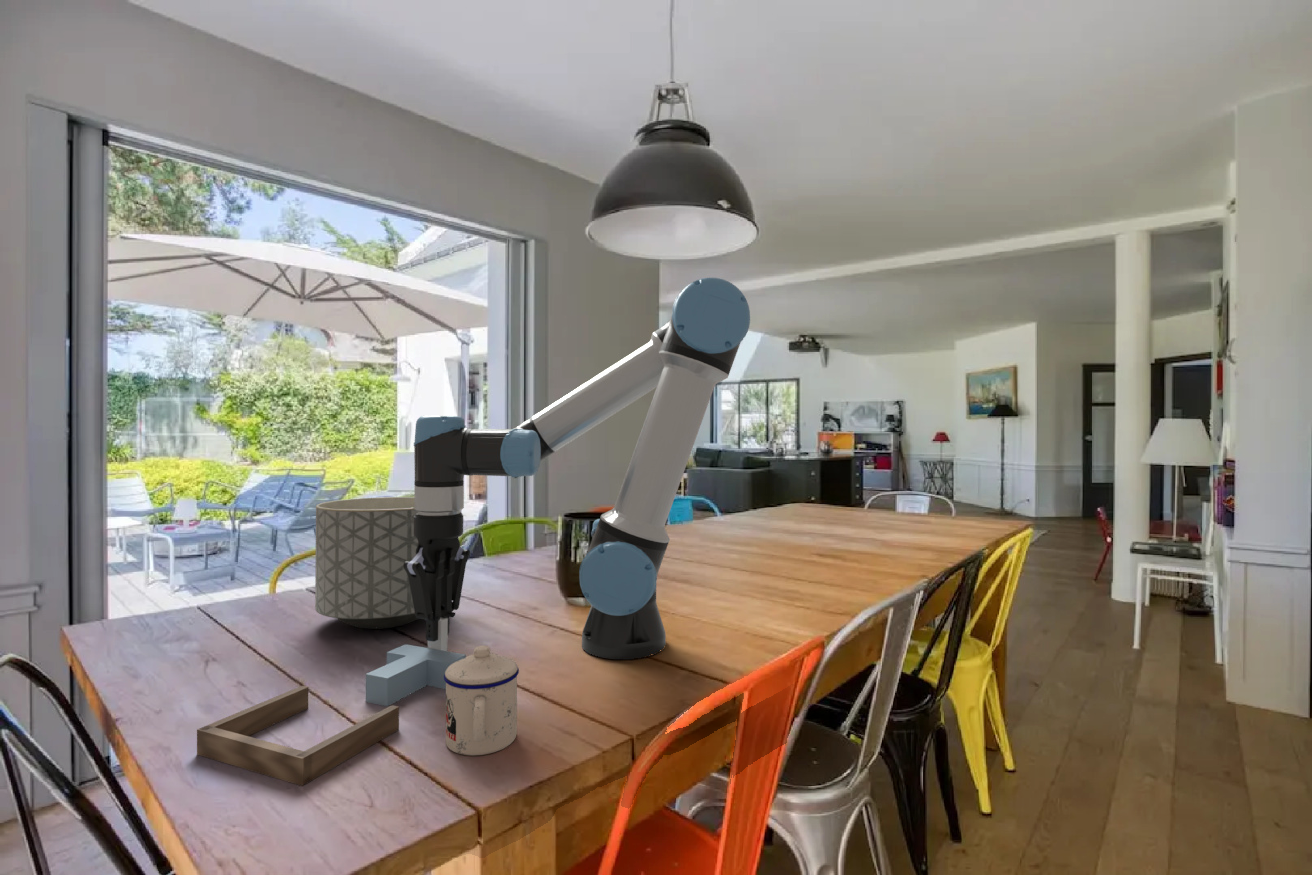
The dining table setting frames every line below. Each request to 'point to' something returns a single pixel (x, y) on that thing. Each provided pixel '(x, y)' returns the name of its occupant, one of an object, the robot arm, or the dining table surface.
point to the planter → (365, 561)
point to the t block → (408, 673)
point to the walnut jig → (282, 762)
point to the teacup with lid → (481, 703)
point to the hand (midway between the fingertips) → (437, 658)
